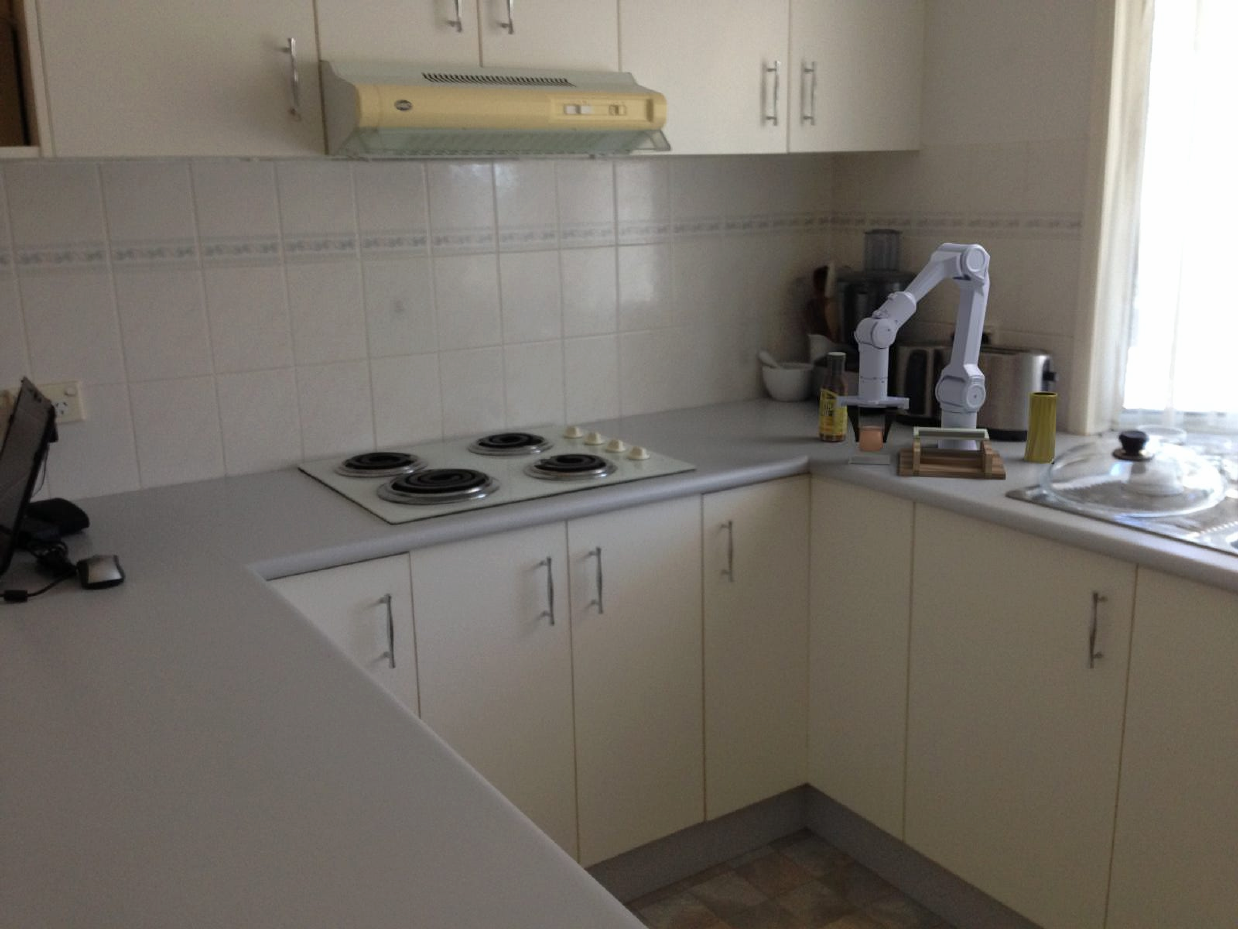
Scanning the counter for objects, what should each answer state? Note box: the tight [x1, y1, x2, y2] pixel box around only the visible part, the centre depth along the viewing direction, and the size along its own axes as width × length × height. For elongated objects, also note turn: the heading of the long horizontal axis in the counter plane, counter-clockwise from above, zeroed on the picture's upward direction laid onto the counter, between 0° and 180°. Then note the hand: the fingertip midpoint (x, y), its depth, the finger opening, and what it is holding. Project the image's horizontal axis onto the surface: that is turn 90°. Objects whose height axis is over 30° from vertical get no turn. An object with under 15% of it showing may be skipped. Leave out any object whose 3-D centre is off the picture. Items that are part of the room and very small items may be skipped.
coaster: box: [849, 453, 891, 466], centre depth 240 cm, size 8×8×1 cm
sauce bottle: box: [818, 351, 850, 443], centre depth 259 cm, size 6×6×20 cm
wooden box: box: [898, 435, 1007, 480], centre depth 234 cm, size 20×20×5 cm
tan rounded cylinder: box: [858, 425, 885, 453], centre depth 239 cm, size 5×5×4 cm
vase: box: [1023, 390, 1058, 464], centre depth 236 cm, size 6×6×14 cm
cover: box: [913, 426, 990, 442], centre depth 239 cm, size 9×15×2 cm, turn 76°
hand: (870, 441), depth 239 cm, fingers closed on tan rounded cylinder, 5 cm apart
